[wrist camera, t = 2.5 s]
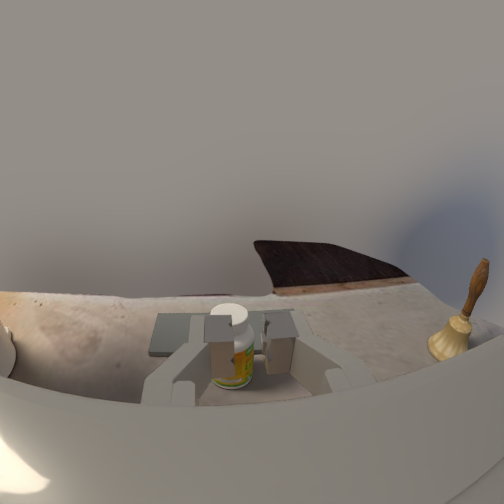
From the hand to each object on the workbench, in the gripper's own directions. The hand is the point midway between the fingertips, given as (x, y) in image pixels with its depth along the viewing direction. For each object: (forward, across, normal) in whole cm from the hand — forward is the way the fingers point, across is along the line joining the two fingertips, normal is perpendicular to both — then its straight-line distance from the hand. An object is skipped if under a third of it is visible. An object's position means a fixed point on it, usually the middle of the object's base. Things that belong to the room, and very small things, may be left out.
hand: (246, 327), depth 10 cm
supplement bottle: (+15, 0, +20) cm, 25 cm away
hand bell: (+12, -34, +20) cm, 41 cm away
